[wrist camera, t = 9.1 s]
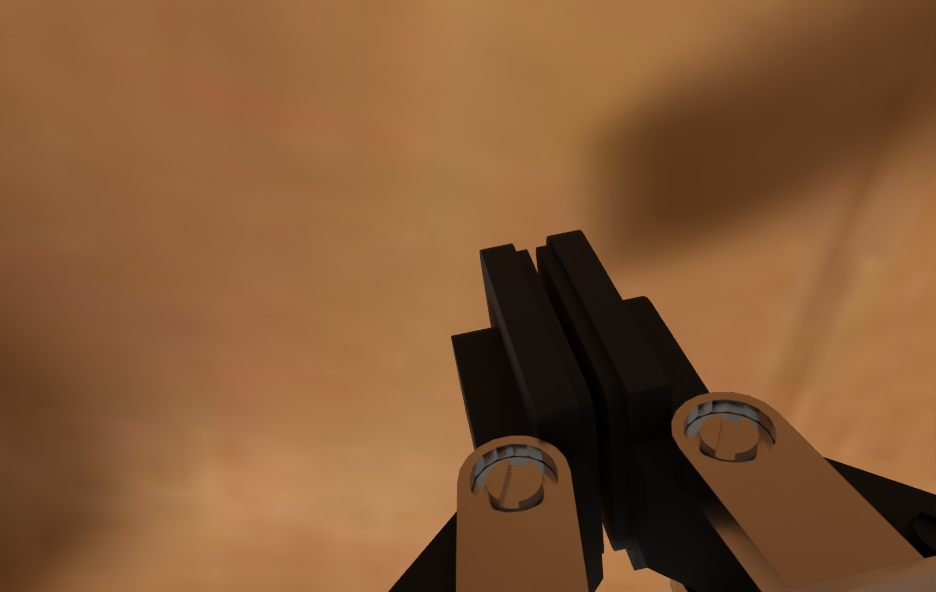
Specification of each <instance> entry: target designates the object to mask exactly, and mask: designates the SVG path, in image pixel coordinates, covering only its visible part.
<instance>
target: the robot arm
mask: <svg viewBox="0 0 936 592" xmlns="http://www.w3.org/2000/svg"><path fill="white" fill-rule="evenodd" d="M536 259H537V268H538V273H537V270H536V268H535V266H534V264H533V261H532V259H531V257H530V255H529V252H528V250H521V251H516V250H515V247H514V245H513V244H507V245H502V246H497V247H492V248H487V249H482V250H480V260H481V267H482V273H483V279H484V286H485V292H486V298H487V305H488V311H489V317H490V324H491V328H487V329H482V330H477V331H473V332H468V333H463V334H458V335H453V336H451V339H452V344H453V350H454V355H455V360H456V365H457V370H458V375H459V380H460V385H461V390H462V395H463V400H464V404H465V409H466V414H467V418H468V423H469V428H470V432H471V437H472V441H473V446H474V450H475V451H474V452H473V453H471V454H470V455H469V456H468V457H467V459H466V460H465V462H464V463H463V465H462V467H461V468H460V472H459V476H458V481H457V512H456V513H455V514H454V515H453V516H452V518H451V519H450V520H449V521H448V522H447V523H446V525H445V526H444V527H443V528H442V529H441V531H440V532H439V533H438V534H437V535H436V536H435V538H434V539H433V540H432V541H431V542H430V543H429V545H428V546H427V547H426V548H425V549H424V550H423V552H422V553H421V554H420V555H419V556H418V558H417V559H416V560H415V561H414V562H413V563H412V565H411V566H410V567H409V568H408V569H407V570H406V572H405V573H404V574H403V575H402V576H401V578H400V579H399V580H398V581H397V582H396V583H395V585H394V586H393V587H392V588H391V589H390V590H389V592H595V590H596V589H597V587H598V586H599V584H600V583H601V581H602V579H603V566H602V554H603V553H604V542H603V526H602V523H603V525H604V528H605V531H606V533H607V536H608V539H609V541H610V544H611V546H612V548H613V550H614V551H618V550H622V549H626V551H627V553H628V556H629V559H630V561H631V564H632V566H633V569H634V571H635V570H639V569H643V568H649V569H651V570H653V571H655V572H658V573H660V574H662V575H664V576H666V577H668V578H670V587H671V589H672V591H673V592H936V495H935V494H932V493H929V492H926V491H923V490H920V489H917V488H914V487H911V486H908V485H905V484H902V483H899V482H896V481H893V480H890V479H887V478H884V477H881V476H878V475H875V474H872V473H869V472H867V471H864V470H861V469H858V468H855V467H852V466H849V465H846V464H843V463H840V462H837V461H834V460H831V459H828V458H825V457H822V456H821V455H820V454H819V453H818V452H817V451H816V450H815V449H814V448H813V447H812V446H811V445H810V444H809V443H808V442H807V441H806V440H805V439H804V438H803V437H802V436H801V435H800V434H799V433H798V432H797V431H796V430H795V429H794V428H793V427H792V426H791V425H790V424H789V423H788V422H787V421H786V420H785V419H784V418H783V417H782V416H781V415H780V414H779V413H778V412H777V411H776V410H774V409H773V408H772V407H770V406H769V405H768V404H766V403H765V402H763V401H760V400H758V399H756V398H754V397H751V396H748V395H744V394H739V393H734V392H712V393H709V391H708V390H707V388H706V386H705V385H704V383H703V382H702V380H701V379H700V377H699V376H698V374H697V373H696V371H695V369H694V368H693V366H692V365H691V363H690V362H689V360H688V359H687V357H686V355H685V354H684V352H683V351H682V349H681V348H680V346H679V345H678V343H677V342H676V340H675V338H674V337H673V335H672V334H671V332H670V331H669V329H668V328H667V326H666V324H665V323H664V321H663V320H662V318H661V317H660V315H659V314H658V312H657V311H656V309H655V307H654V306H653V304H652V303H651V302H650V300H649V299H648V298H647V297H645V296H641V297H636V298H631V299H626V300H622V298H621V296H620V295H619V293H618V291H617V290H616V288H615V286H614V285H613V283H612V281H611V279H610V278H609V276H608V274H607V273H606V271H605V269H604V268H603V266H602V264H601V262H600V261H599V259H598V257H597V256H596V254H595V252H594V251H593V249H592V247H591V246H590V244H589V242H588V240H587V239H586V237H585V235H584V234H583V232H582V231H581V230H576V231H571V232H566V233H561V234H556V235H551V236H547V239H546V246H541V247H537V248H536Z"/></svg>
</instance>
